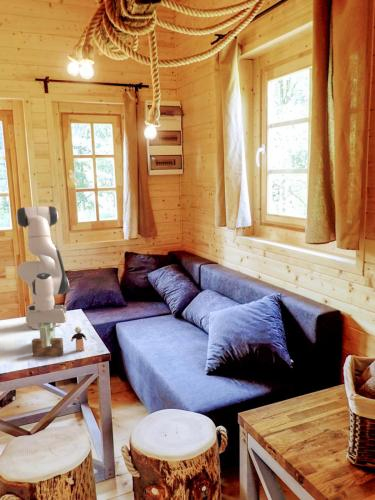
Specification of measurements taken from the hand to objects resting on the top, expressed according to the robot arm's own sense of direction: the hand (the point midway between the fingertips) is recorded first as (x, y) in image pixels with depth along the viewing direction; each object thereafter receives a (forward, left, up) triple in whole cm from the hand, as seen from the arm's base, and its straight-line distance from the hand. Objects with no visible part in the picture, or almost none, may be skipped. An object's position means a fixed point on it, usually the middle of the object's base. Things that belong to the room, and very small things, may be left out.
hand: (47, 331), depth 221 cm
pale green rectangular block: (0, 0, -8) cm, 8 cm away
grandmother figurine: (+8, +18, -8) cm, 21 cm away
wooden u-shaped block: (+13, +4, -8) cm, 16 cm away
